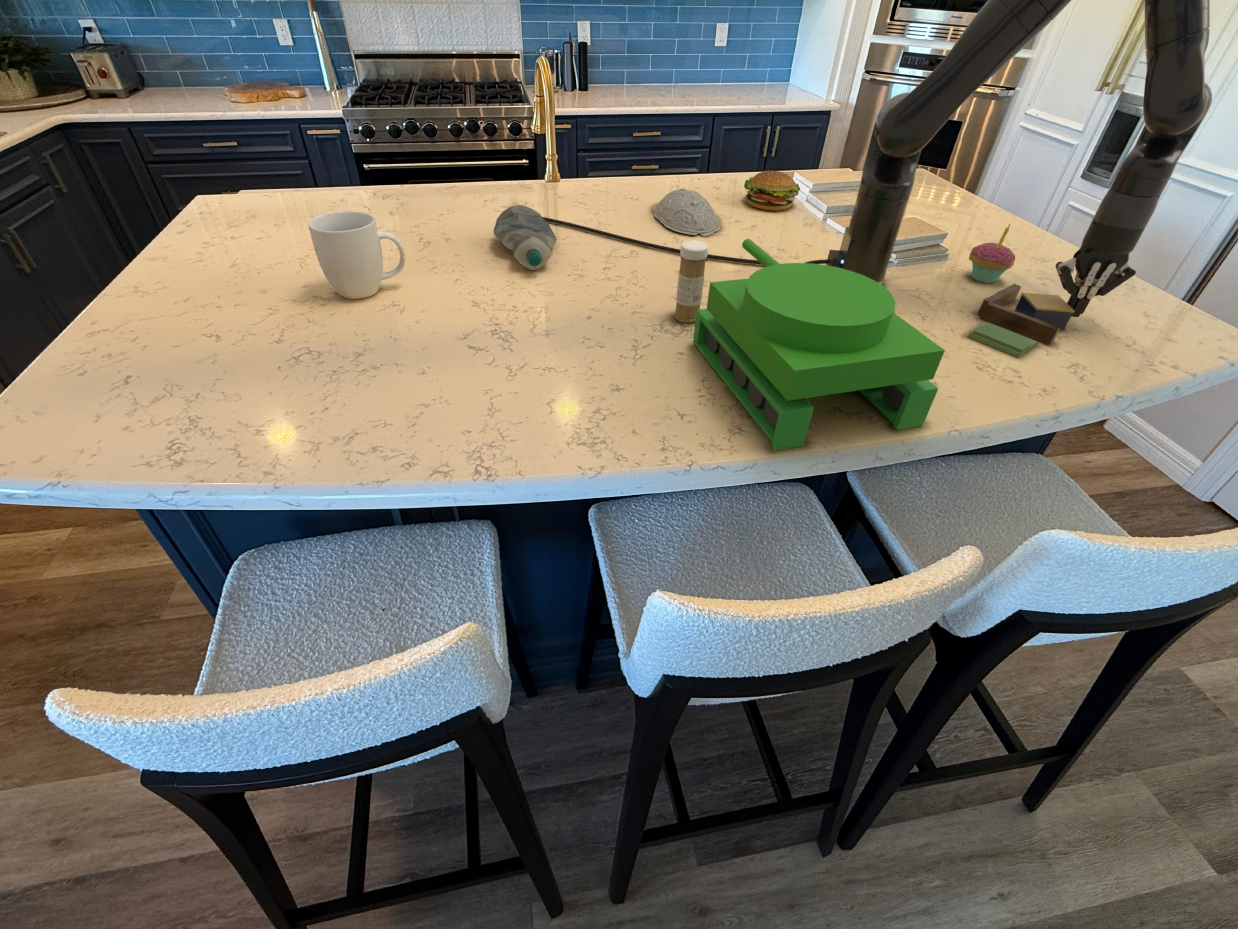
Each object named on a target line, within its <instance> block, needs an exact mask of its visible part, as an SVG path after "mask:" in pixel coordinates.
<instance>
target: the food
mask: <svg viewBox="0 0 1238 929" xmlns="http://www.w3.org/2000/svg"><path fill="white" fill-rule="evenodd" d="M743 184H744V185H743V187H744V189H745V190H747V191H746V193H747V194H746V195H745V198H746V201H747V203H748V204H749V205H750V206H752V207H753V208H756V209H760V210H764V211H771V212H772V211H773V212H777V211H785V210H788V209H790V208H791V207H792V206H793V202H794V201H795V198H796V197H797V196H798V195H799V193H800V192H799V191H801V187H800V185H799V184H798V183H797V182H796V181H795V180H794V178H793V177H792V176H791V175H789V174H788V173H785V172H784V171H780V170H765V171H764V170H763V171H761V172H758V173H757V174H755V175H754V176H750V177H749V179H746V180H744V183H743Z"/></svg>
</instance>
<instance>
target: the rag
mask: <svg viewBox="0 0 1238 929" xmlns="http://www.w3.org/2000/svg"><path fill="white" fill-rule="evenodd" d="M967 338H970V339H971V340H974V341H976V342H979V343H981V344H984V345H987V346H989V347H991V348H994V349H997V350H998V351H1000V352H1003V353H1006V354H1008V355H1011V356H1013V357H1016V358H1019V357H1021V356H1022V355H1024V354H1026V353H1028V352H1029V351H1031V349H1033V348H1035V347H1036V346H1037V345H1038V344H1039V341H1037V340H1034V339H1032V338H1029V337H1027V336H1024V335H1022V334H1019V333H1016V332H1014V331H1011V330H1009V329H1006V328H1003V327H1001V326H998V325H996V324H993V323H991V322H988V321H986V323H984V324H982V325H980V326H977V327H976V328H974V329H973V330H971V331H970V332H968V334H967Z"/></svg>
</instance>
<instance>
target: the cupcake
mask: <svg viewBox="0 0 1238 929" xmlns="http://www.w3.org/2000/svg"><path fill="white" fill-rule="evenodd" d="M1010 226H1011V223H1009V224H1008V226H1006V227H1005V229H1004V231H1003V232H1002V235H1001V237H1000V238H999V241H998V243H997V242H984V243H981V244H978V245H977V246H976V245H975V246H974V247H972V249H971V251H970V252H969V255H968V260H969V261H971V262H972V263H971V264H972V267H971V268H972V269H971V277H972V279H974V280H975V281H978V282H980V283H984V284H985V283H986V284H993V283H996V282H997V281H998V279H999V278H1000V277H1001V276H1002V275H1003V274H1004V273H1005V272H1006V271H1007V270H1009V269H1011V268H1012V267H1013V266H1014V264H1015V261H1016V255H1015V253H1014V252H1013V250H1011V248H1010V247H1009V248H1008V247H1007V246H1004V245H1003V243H1004V241H1005V239H1006V237H1007V235H1008V233H1009V231H1010V229H1011V227H1010Z"/></svg>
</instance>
